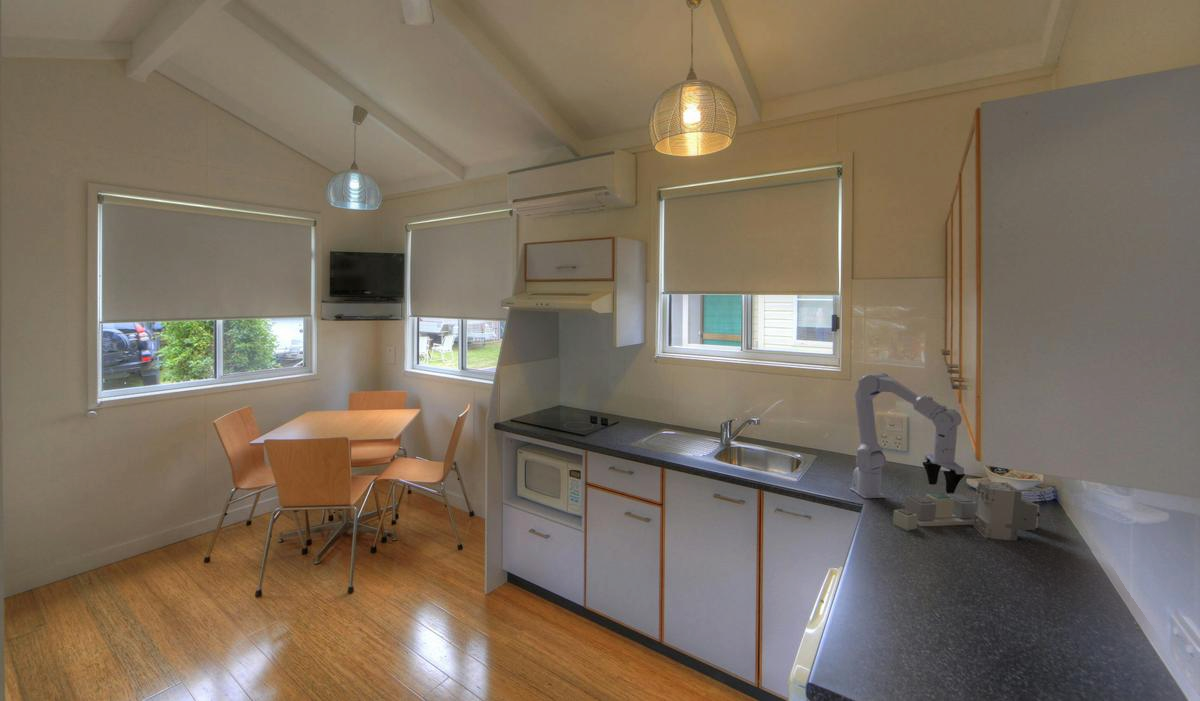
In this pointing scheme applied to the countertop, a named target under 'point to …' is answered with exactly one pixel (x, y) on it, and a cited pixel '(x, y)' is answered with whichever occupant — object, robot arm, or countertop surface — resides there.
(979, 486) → the circuit breaker
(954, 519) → the rail board
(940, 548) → the countertop surface
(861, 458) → the robot arm
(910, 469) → the countertop surface
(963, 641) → the countertop surface
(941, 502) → the block
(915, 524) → the contactor
